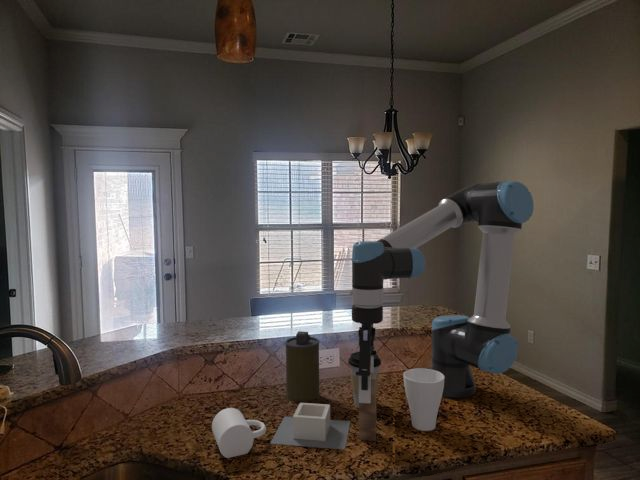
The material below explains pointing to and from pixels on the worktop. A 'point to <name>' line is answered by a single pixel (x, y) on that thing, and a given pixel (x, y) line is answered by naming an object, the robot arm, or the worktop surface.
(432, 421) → the cup
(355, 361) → the coffee cup
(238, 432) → the mug
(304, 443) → the mat
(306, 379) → the canister
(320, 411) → the white square holder
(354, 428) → the worktop surface
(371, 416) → the brown wooden block
